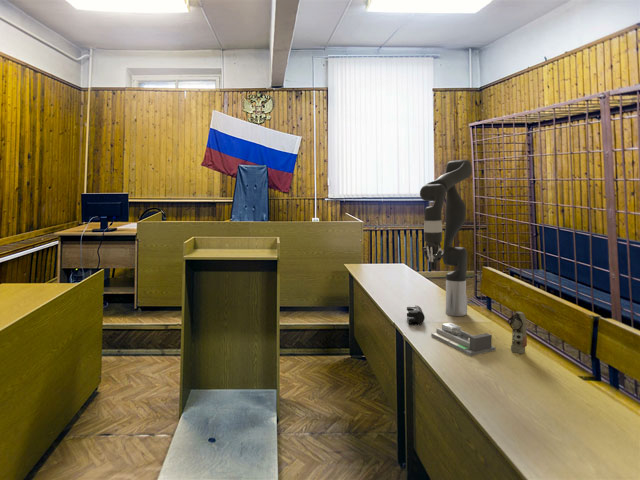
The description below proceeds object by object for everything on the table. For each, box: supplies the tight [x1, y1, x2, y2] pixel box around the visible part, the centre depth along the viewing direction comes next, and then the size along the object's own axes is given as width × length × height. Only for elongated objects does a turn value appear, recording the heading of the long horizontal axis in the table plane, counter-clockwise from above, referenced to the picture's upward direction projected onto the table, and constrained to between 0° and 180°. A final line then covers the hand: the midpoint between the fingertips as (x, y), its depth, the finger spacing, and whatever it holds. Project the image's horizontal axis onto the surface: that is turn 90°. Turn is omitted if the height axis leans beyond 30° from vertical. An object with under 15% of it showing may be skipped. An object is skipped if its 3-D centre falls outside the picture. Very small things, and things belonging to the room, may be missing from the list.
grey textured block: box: [441, 322, 462, 338], centre depth 151 cm, size 4×8×4 cm, turn 21°
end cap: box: [406, 305, 426, 326], centre depth 172 cm, size 10×7×7 cm
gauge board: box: [430, 327, 497, 357], centre depth 146 cm, size 12×22×6 cm, turn 21°
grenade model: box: [506, 310, 528, 355], centre depth 134 cm, size 6×7×15 cm
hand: (433, 270), depth 162 cm, fingers closed
